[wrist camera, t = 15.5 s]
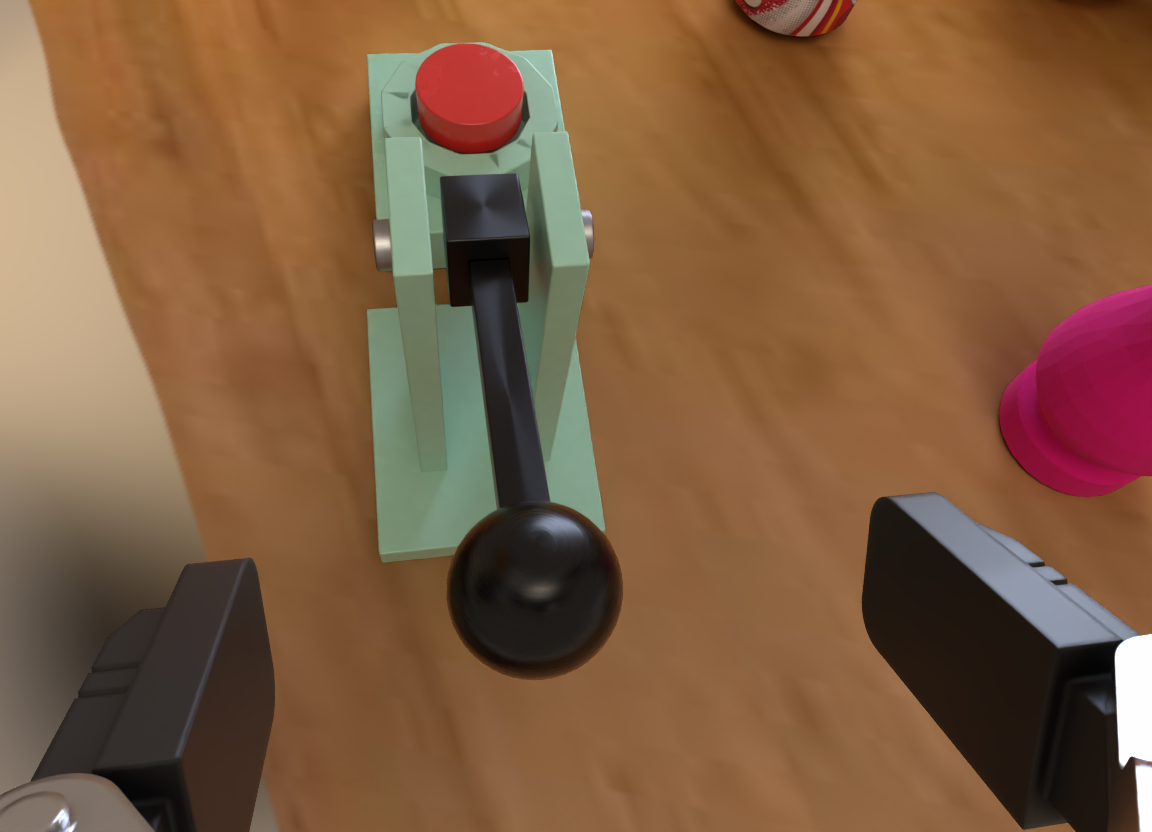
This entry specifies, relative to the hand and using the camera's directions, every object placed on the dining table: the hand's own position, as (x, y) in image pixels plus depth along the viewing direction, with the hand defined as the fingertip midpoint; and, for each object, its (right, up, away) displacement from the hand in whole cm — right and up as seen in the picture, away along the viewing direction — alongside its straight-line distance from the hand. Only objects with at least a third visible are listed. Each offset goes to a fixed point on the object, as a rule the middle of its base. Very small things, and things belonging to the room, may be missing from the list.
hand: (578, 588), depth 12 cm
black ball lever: (-2, +2, +12) cm, 12 cm away
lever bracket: (-4, +2, +25) cm, 26 cm away
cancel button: (-5, +15, +27) cm, 31 cm away
